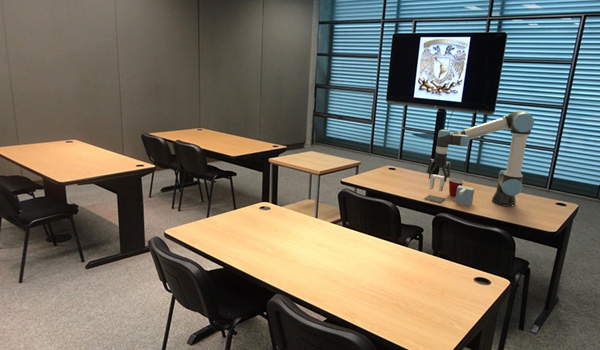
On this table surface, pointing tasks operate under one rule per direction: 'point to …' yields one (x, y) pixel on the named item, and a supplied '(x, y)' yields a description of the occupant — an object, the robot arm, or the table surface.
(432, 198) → the rubber mat
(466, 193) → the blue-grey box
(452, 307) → the table surface
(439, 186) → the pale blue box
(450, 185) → the plastic cup
